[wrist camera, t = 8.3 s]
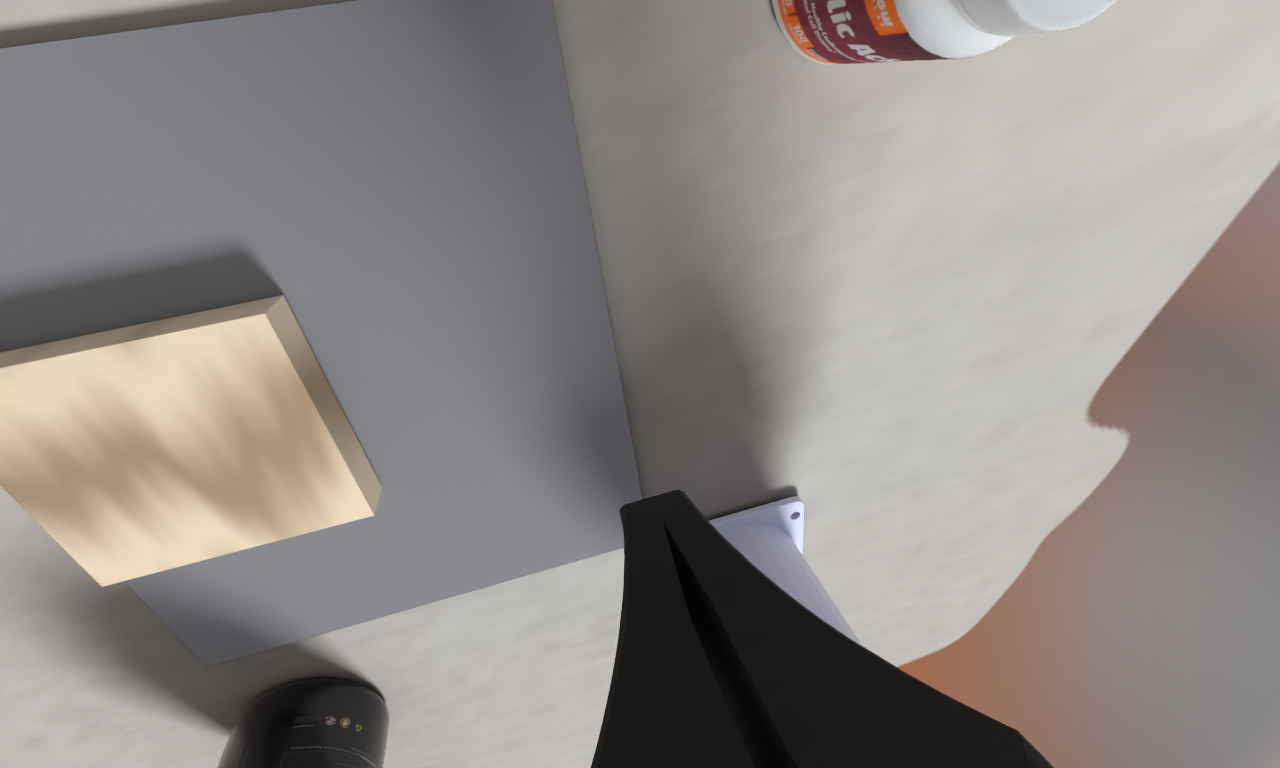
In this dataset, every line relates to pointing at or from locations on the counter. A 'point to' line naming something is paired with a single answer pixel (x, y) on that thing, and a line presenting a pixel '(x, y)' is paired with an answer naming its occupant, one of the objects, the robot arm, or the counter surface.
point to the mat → (342, 278)
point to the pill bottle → (920, 26)
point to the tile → (179, 440)
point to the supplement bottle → (310, 728)
